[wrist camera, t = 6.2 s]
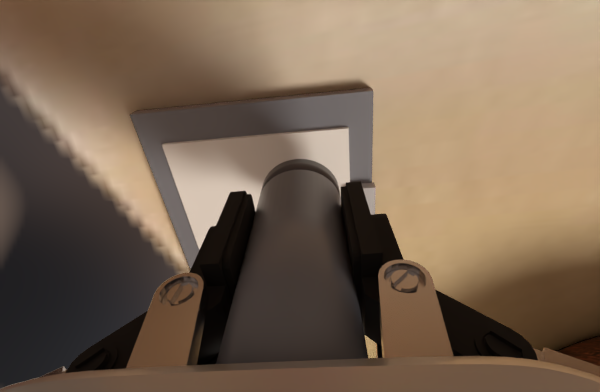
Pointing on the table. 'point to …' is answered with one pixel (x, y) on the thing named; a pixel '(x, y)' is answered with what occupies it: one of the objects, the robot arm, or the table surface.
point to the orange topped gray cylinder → (295, 275)
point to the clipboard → (251, 150)
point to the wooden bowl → (585, 351)
